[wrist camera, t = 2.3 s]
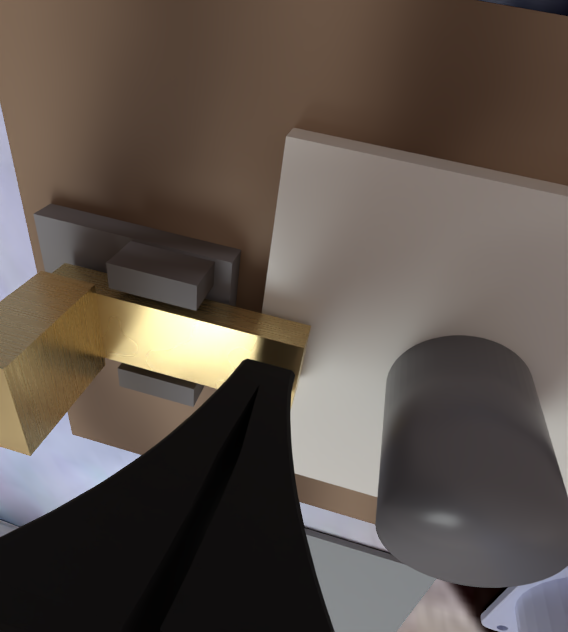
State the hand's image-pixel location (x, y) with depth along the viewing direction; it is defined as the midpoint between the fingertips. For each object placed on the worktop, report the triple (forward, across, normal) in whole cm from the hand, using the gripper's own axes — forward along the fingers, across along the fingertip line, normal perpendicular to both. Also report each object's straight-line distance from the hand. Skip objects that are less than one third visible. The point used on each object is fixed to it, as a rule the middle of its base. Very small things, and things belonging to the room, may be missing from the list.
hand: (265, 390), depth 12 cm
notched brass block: (+2, +3, 0) cm, 3 cm away
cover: (+3, -5, 0) cm, 6 cm away
